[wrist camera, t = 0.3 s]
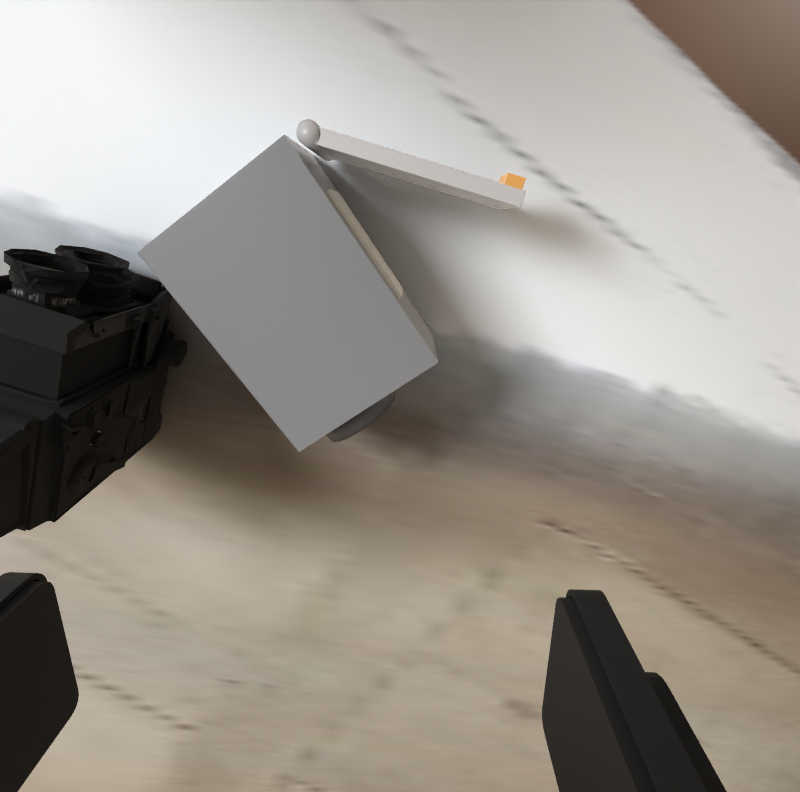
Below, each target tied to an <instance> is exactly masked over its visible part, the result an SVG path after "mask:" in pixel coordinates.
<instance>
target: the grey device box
mask: <svg viewBox="0 0 800 792" xmlns="http://www.w3.org/2000/svg"><path fill="white" fill-rule="evenodd" d="M138 254H139V256H140V257H141V258H142V259H143V260H144V262H145V263H146V264H147V265H148V267H149V268H150V269H151V270H152V272H153V273H154V274H155V275H156V276H157V278H158V279H159V280H160V281H161V283H162V284H163V285H164V286H165V288H166V289H167V290H168V291H169V293H170V294H171V295H172V296H173V297H174V299H175V300H176V301H177V302H178V304H179V305H180V306H181V307H182V309H183V310H184V311H185V312H186V313H187V315H188V316H189V317H190V318H191V320H192V321H193V322H194V323H195V325H196V326H197V327H198V328H199V330H200V331H201V332H202V333H203V334H204V336H205V337H206V338H207V339H208V341H209V342H210V343H211V344H212V346H213V347H214V348H215V349H216V351H217V352H218V353H219V354H220V355H221V357H222V358H223V359H224V360H225V362H226V363H227V364H228V365H229V367H230V368H231V369H232V370H233V371H234V373H235V374H236V375H237V376H238V378H239V379H240V380H241V381H242V383H243V384H244V385H245V386H246V388H247V389H248V390H249V391H250V392H251V394H252V395H253V396H254V397H255V399H256V400H257V401H258V402H259V404H260V405H261V406H262V407H263V408H264V410H265V411H266V412H267V413H268V415H269V416H270V417H271V418H272V420H273V421H274V422H275V423H276V425H277V426H278V427H279V428H280V429H281V431H282V432H283V433H284V434H285V436H286V437H287V438H288V439H289V441H290V442H291V443H292V444H293V445H294V447H295V448H296V449H297V450H298V452H300V451H301V450H303V449H305V448H306V447H308V446H309V445H311V444H312V443H314V442H315V441H317V440H319V439H320V438H322V437H323V436H325V435H327V436H328V437H329V439H330V440H331V441H332V442H339V441H342V440H344V439H347V438H349V437H351V436H353V435H354V434H356V433H358V432H359V431H361V430H362V429H364V428H365V427H367V426H368V425H369V424H371V423H372V422H373V421H374V420H376V419H377V418H378V417H379V416H380V415H381V414H382V413H383V412H384V411H385V410H386V409H387V408H388V407H389V406H390V405H391V403H392V402H393V400H394V398H395V393H394V392H393V391H395V390H396V389H398V388H400V387H401V386H403V385H404V384H406V383H407V382H409V381H410V380H412V379H414V378H415V377H417V376H418V375H420V374H421V373H423V372H425V371H426V370H428V369H429V368H431V367H432V366H434V365H435V364H437V363H439V362H438V358H437V353H436V348H435V343H434V339H433V334H432V332H431V330H430V329H429V327H428V326H427V324H426V323H425V321H424V320H423V318H422V317H421V315H420V314H419V312H418V311H417V309H416V308H415V306H414V305H413V303H412V302H411V300H410V299H409V297H408V296H407V294H406V293H405V291H404V290H403V288H402V286H401V285H400V283H399V282H398V280H397V279H396V277H395V276H394V274H393V273H392V271H391V270H390V268H389V267H388V265H387V264H386V262H385V261H384V259H383V258H382V256H381V255H380V253H379V252H378V250H377V249H376V247H375V246H374V244H373V243H372V241H371V240H370V238H369V237H368V235H367V234H366V232H365V231H364V229H363V228H362V226H361V225H360V223H359V222H358V220H357V219H356V217H355V216H354V214H353V213H352V211H351V210H350V208H349V207H348V205H347V204H346V202H345V201H344V199H343V198H342V196H341V195H340V193H339V192H338V191H337V190H336V188H335V187H334V185H333V184H332V182H331V181H330V179H329V178H328V176H327V175H326V173H325V172H324V170H323V169H322V167H321V166H320V164H319V163H318V161H317V160H316V158H315V157H314V155H313V154H311V153H310V152H309V151H307V150H306V149H304V148H303V147H301V146H300V145H299V144H297V143H296V142H294V141H293V140H291V139H290V138H289V137H287V136H286V135H283V136H282V137H281V138H280V139H278V140H277V141H276V142H275V143H273V144H272V145H271V146H270V147H268V148H267V149H266V150H265V151H263V152H262V153H261V154H260V155H258V156H257V157H256V158H255V159H253V160H252V161H251V162H250V163H248V164H247V165H246V166H245V167H244V168H242V169H241V170H240V171H239V172H237V173H236V174H235V175H234V176H232V177H231V178H230V179H229V180H227V181H226V182H225V183H224V184H222V185H221V186H220V187H219V188H217V189H216V190H215V191H214V192H212V193H211V194H210V195H209V196H207V197H206V198H205V199H204V200H202V201H201V202H200V203H199V204H197V205H196V206H195V207H194V208H192V209H191V210H190V211H189V212H187V213H186V214H185V215H184V216H182V217H181V218H180V219H179V220H177V221H176V222H175V223H174V224H172V225H171V226H170V227H169V228H167V229H166V230H165V231H164V232H163V233H161V234H160V235H159V236H158V237H156V238H155V239H154V240H153V241H151V242H150V243H149V244H148V245H146V246H145V247H144V248H143V249H141V250H140V251H139V252H138Z"/></svg>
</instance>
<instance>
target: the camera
mask: <svg viewBox="0 0 800 792" xmlns="http://www.w3.org/2000/svg"><path fill="white" fill-rule="evenodd" d="M55 252H56V254H51V253H47V252H43V251H39V250H29V249H10V250H7V251H4V262H6V263H7V264H8V265H10V270H9V275H3V276H0V537H2V536H4V535H6V534H7V533H9V532H11V531H13V530H15V529H20V530H23V531H25V530H31V529H33V528H35V527H37V526H38V525H40V524H42V523H44V522H46V521H49V520H50V521H52V522H55V521H57V520H58V519H59V518H60V517H61V516H62V515H64V514H65V513H66V512H67V511H68V510H69V509H71V508H72V507H73V506H74V505H75V504H77V503H78V502H79V501H80V500H81V499H82V498H84V497H85V496H86V495H87V494H88V493H89V492H91V491H92V490H93V489H94V488H95V487H97V486H98V485H99V484H100V483H101V482H102V481H104V480H105V479H106V478H107V477H108V476H110V475H111V474H112V473H113V472H114V471H116V470H118V469H120V468H122V467H124V466H125V463H126V461H127V460H128V459H130V458H131V457H132V456H133V455H134V454H135V453H137V452H138V451H139V450H140V449H141V448H142V447H144V446H145V445H146V444H147V443H148V442H150V441H151V440H152V439H153V438H154V436H155V435H156V434H157V432H158V431H159V429H160V426H161V421H162V415H159V409H160V404H161V399H162V394H163V389H164V384H165V379H166V374H167V369H168V364H169V365H172V366H175V367H177V366H179V365H180V364H181V362H182V361H183V359H184V356H185V354H186V351H187V346H186V342H185V341H183V340H179V339H174V334H173V333H171V332H170V331H169V330H167V327H168V323H169V320H168V318H167V317H168V311H169V306H170V300H171V294H170V293H169V291H168V290H166V289H165V288H164V287H161V284H162V283H161V282H159V281H157V280H154V279H151V278H148V277H145V276H142V275H139V274H136V273H133V272H132V271H130V270H129V269H127V268H129V263H130V262H128V261H126V260H123V259H121V258H119V257H116V256H114V255H111V254H109V253H106V252H101V251H97V250H93V249H89V248H85V247H75V246H63V245H60V246H58V247H57V248H56V249H55Z"/></svg>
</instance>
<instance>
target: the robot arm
mask: <svg viewBox="0 0 800 792" xmlns="http://www.w3.org/2000/svg"><path fill="white" fill-rule="evenodd" d="M78 696H79V693H78V687H77V683H76V679H75V674H74V670H73V666H72V662H71V657H70V653H69V649H68V645H67V640H66V636H65V632H64V628H63V623H62V619H61V615H60V611H59V606H58V602H57V598H56V594H55V589H54V587H53V585H52V584H51V583H50V582H47V579H46V577H45V576H44V575H43V574H39V573H15V572H9V573H5V574H3V575H1V576H0V792H18V790H19V789H20V787H21V786H22V785H23V783H24V782H25V780H26V779H27V778H28V776H29V775H30V773H31V772H32V770H33V769H34V768H35V766H36V765H37V763H38V762H39V761H40V759H41V758H42V756H43V755H44V754H45V752H46V751H47V749H48V748H49V747H50V745H51V744H52V742H53V741H54V740H55V738H56V737H57V735H58V734H59V733H60V731H61V730H62V728H63V727H64V726H65V724H66V723H67V721H68V720H69V718H70V717H71V716H72V714H73V712H74V710H75V708H76V706H77V702H78ZM542 720H543V728H544V733H545V737H546V741H547V745H548V749H549V753H550V757H551V761H552V764H553V768H554V772H555V776H556V780H557V784H558V788H559V792H726V790H725V788H724V786H723V784H722V783H721V781H720V779H719V777H718V775H717V774H716V772H715V770H714V768H713V766H712V765H711V763H710V761H709V759H708V757H707V756H706V754H705V752H704V750H703V748H702V747H701V745H700V743H699V741H698V739H697V738H696V736H695V734H694V732H693V730H692V729H691V727H690V725H689V723H688V721H687V720H686V718H685V716H684V714H683V712H682V711H681V709H680V707H679V705H678V703H677V702H676V700H675V698H674V696H673V694H672V693H671V691H670V689H669V687H668V685H667V684H666V683H665V681H664V680H663V678H662V677H661V676H660V675H658V674H657V673H652V672H645V671H644V669H643V668H642V666H641V664H640V662H639V660H638V658H637V656H636V654H635V652H634V650H633V648H632V646H631V644H630V643H629V641H628V639H627V637H626V635H625V633H624V631H623V629H622V627H621V625H620V623H619V621H618V619H617V618H616V616H615V614H614V612H613V610H612V608H611V606H610V604H609V602H608V600H607V598H606V596H605V595H604V593H603V592H602V591H600V590H571V589H570V590H568V592H567V594H566V598H558V599H557V601H556V607H555V615H554V622H553V630H552V638H551V645H550V653H549V661H548V668H547V676H546V684H545V691H544V699H543V707H542Z"/></svg>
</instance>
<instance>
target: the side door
mask: <svg viewBox="0 0 800 792" xmlns="http://www.w3.org/2000/svg"><path fill="white" fill-rule="evenodd" d="M297 137H298V139H299V141H300V142H301V143H302V144H303V145H305V146H306V147H307V148H309V149H310V150H312V151H313V152H314V153H316V154H317V155H318V156H320V157H321V158H322V159H324V160H326V161H331V160H333V159H335V160H338V161H341V162H345V163H348V164H351V165H354V166H358V167H361V168H364V169H368V170H371V171H374V172H377V173H381V174H384V175H387V176H390V177H394V178H397V179H400V180H404V181H407V182H410V183H413V184H417V185H420V186H423V187H427V188H430V189H433V190H436V191H440V192H443V193H446V194H449V195H453V196H456V197H459V198H463V199H466V200H469V201H472V202H476V203H479V204H482V205H485V206H489V207H492V208H495V209H499V210H502V209H510V208H517V207H521V205H522V202H523V199H524V196H525V193H526V191H524V190H522V188H523V185H524V182H525V179H526V178H523V177H520V176H517V175H514V174H511V173H507V174H505V175H503V176H501V178H500V181H499V182H495V181H492V180H489V179H486V178H482V177H479V176H476V175H473V174H469V173H466V172H463V171H460V170H456V169H453V168H450V167H447V166H444V165H440V164H437V163H434V162H431V161H427V160H424V159H421V158H418V157H414V156H411V155H408V154H405V153H402V152H398V151H395V150H392V149H389V148H385V147H382V146H379V145H376V144H372V143H369V142H366V141H363V140H360V139H356V138H353V137H350V136H347V135H343V134H340V133H337V132H334V131H330V130H327V129H324V128H321V127H320V126H319V125H318V124H317V123H316V122H314V121H313V120H309V119H307V120H303V121H302V122H301V123H300V124H299V125H298V127H297Z"/></svg>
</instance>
